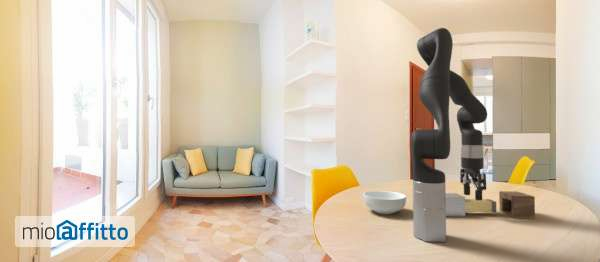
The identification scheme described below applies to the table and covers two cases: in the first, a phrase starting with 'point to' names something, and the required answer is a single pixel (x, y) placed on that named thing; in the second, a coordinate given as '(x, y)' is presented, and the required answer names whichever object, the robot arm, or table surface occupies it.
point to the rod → (480, 205)
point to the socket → (517, 204)
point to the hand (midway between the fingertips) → (472, 197)
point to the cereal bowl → (384, 201)
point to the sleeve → (455, 205)
